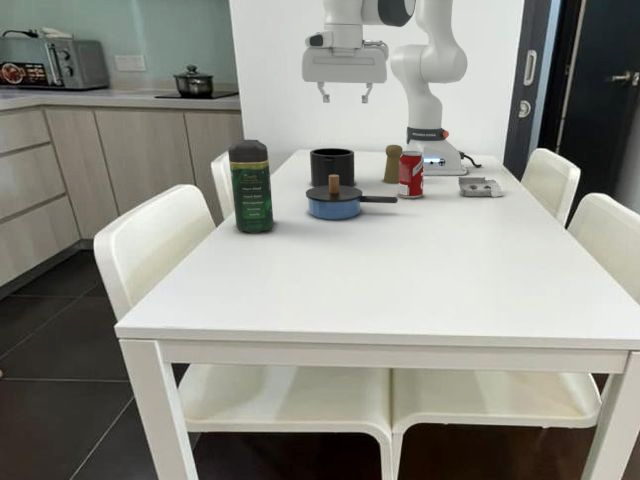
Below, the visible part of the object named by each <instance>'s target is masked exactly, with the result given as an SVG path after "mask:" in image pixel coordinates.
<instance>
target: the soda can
mask: <svg viewBox="0 0 640 480" xmlns="http://www.w3.org/2000/svg"><path fill="white" fill-rule="evenodd" d="M424 176H425V175H424V158H423V156H422V152H419V151H406V150H403V151H402V155H401V157H400V159H399V183H398V193H397V194H398V195H399V196H400V197H402V198H403V199H411V200H412V199H413V200H414V199H419V198H420V197H422V196H423V194H424V193H423V192H424Z"/></svg>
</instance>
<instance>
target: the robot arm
mask: <svg viewBox="0 0 640 480" xmlns="http://www.w3.org/2000/svg"><path fill="white" fill-rule="evenodd" d="M453 2H454V0H322V4H323V7H324V13H325V14H324V20H323V31H318V32H316V33H314V34H311V35H308V36H306V37H305V38H304V45H305V47H306V48H305V49H304V50H303V52H302V55H301V56H302V57H301V78H302V80H303V81H304V82H306V83H316V84H317V89H318V91H319V93H320V94H321V95H322V103H323V104H324V103H327V104H328V103H330V102H331V100H330V93H329V94H327V92H326V91H325V90H324V87H325V83H336V84H338V83H339V84H343V83H345V84H365V85H366V89H367V91H366V93H365V94H362V95H361V104H369V95H370V94H371V91H372V90H373V86H374V85H373V84H385V83H386V82H387V81H388V71H387V61H388V59H389V57H390V56H389V52H390V49H389V46H388V45H387V43H386V42H384V41H383V40H380V39H377V40H373V39H364V28H363V27H364V26H388V27H395V28H403V27H404V26H406V25H407V24H408V23H409V21H410V20H411V19H412V18H413V15H414V19H415V20H414V21H415V23H416V25H417V27H418V28H419V30H421V31H423V32H424V33H426V34H427V37H428V44H405V45H402V46H399V47H396V48H395V49H394V50H393V51H392V54H391V57H390V64H389V65H390V71H391V73H392V74H393V77H394V78H396V79H397V81H398V82H399V83H400V84H401V86H402V88H403V90H404V92H405V96H406V98H407V104H408V122H407V123H408V126H407V127H406V133H405V143H406V150H405V151H419V152H422V156H423V158H424V176H464V175H466V174H467V173H468V168H467V167H466V166H465V165H463V164H462V161H463V160H465V159H467V160H469V161H470V162H471V165H473V167H475V168H482V167H483V165H482V163H480V164H476V163H475V161H474V159H473V158H472V157H471V156H469V155H467V154H465V152H464V151H461V150H458V149H457V148H456V147H454V145H452V144H451V143H450V142H449V141H448V140H447V138H448V137H449V136H450V132H449V131H448V130H446V129H445V128H443V127H442V120H443V104H442V101H441V99H439V98H438V97H437V96H435V94H433V93H432V91H431V90H430V86H429V84H444V85H445V84H452V83H456V82H460V81H461V80H462V79H463V78H464V76H465V75H466V72H467V69H468V57H467V55H466V53H465V51H464V50H463V48H462V47H461V46H460V45H459V44H458V42H457V41H456V38H455V36H454V34H453V29H452V27H453V26H452V13H453ZM414 13H415V14H414Z"/></svg>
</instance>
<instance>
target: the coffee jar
mask: <svg viewBox="0 0 640 480" xmlns="http://www.w3.org/2000/svg"><path fill="white" fill-rule="evenodd" d="M227 153H228V163H229V171H230V180H231V188H232V198H233V205H234V217H235V224H236V229H237V230H238V231H239V232H247V233H250V234H251V233H252V234H253V233H254V234H255V233H256V234H257V233H260V232H264V231H269V230H271V229H272V228H273V225H274V213H273V200H272V199H273V198H272V183H271V174H270V173H271V172H270V163H269V162H270V160H269V152H268V147H267V146H266V144H264V143H263V142H261V141H260V140H258V139H238V141H236V142H234V143H233V144H231V145H230V146H229V147H228V150H227Z"/></svg>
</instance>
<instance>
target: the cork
mask: <svg viewBox="0 0 640 480" xmlns="http://www.w3.org/2000/svg"><path fill="white" fill-rule="evenodd" d="M403 151H404V149H403V147H402V146H401V145H398V144H388V145H387V146H386V147H385V155H386V162H385V170H384V177H383V182H384V183H386V184H395V185H396V184H399V159H400V157H401V156H402V152H403Z"/></svg>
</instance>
